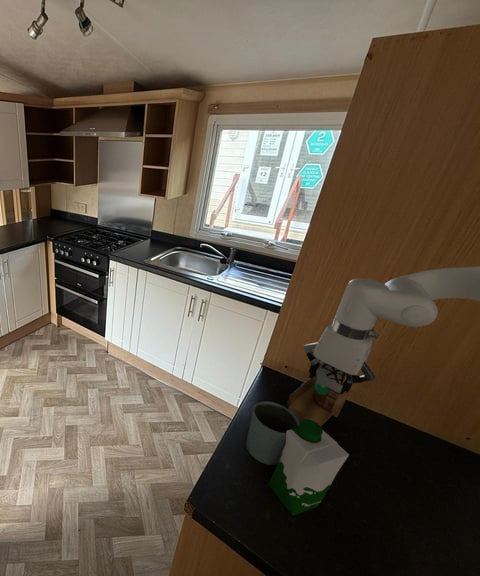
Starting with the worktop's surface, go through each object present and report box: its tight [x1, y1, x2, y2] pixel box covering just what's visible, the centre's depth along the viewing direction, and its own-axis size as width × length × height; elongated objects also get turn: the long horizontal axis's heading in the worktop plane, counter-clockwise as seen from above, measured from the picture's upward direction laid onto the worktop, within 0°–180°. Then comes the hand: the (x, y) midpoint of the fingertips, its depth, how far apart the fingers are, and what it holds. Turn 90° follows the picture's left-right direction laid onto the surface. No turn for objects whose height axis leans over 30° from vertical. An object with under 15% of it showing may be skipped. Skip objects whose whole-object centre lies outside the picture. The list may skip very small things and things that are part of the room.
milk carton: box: [267, 419, 350, 517], centre depth 66 cm, size 9×9×20 cm
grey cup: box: [245, 401, 299, 466], centre depth 79 cm, size 10×10×12 cm
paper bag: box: [286, 375, 347, 428], centre depth 88 cm, size 9×16×10 cm, turn 125°
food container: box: [312, 361, 346, 413], centre depth 84 cm, size 12×6×10 cm, turn 137°
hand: (327, 383), depth 84 cm, fingers closed on food container, 6 cm apart
